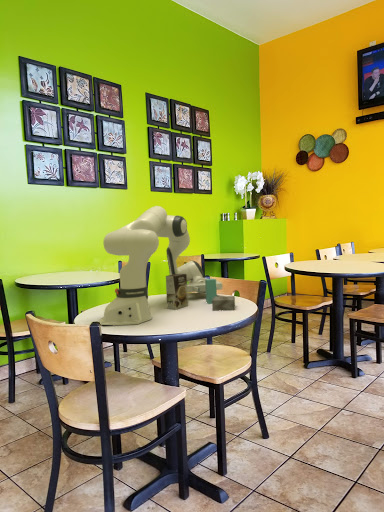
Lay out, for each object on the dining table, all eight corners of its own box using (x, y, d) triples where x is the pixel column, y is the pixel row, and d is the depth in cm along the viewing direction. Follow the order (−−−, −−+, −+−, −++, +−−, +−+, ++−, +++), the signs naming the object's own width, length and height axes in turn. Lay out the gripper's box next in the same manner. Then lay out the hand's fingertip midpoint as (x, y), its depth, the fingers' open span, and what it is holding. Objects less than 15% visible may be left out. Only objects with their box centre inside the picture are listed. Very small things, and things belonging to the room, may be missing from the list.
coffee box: (177, 309, 189) (175, 276, 188) (166, 308, 193) (164, 275, 192) (188, 306, 196) (187, 273, 195) (178, 305, 200) (176, 273, 199)
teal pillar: (208, 304, 198) (207, 280, 198) (206, 302, 203) (205, 279, 202) (217, 303, 199) (216, 279, 198) (214, 301, 204) (213, 278, 203)
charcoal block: (212, 311, 183) (212, 300, 182) (214, 306, 193) (213, 296, 192) (234, 310, 181) (233, 299, 181) (235, 306, 191) (234, 296, 191)
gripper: (182, 281, 218) (187, 284, 205) (218, 278, 223) (225, 281, 209) (182, 292, 219) (188, 296, 205) (218, 289, 223) (225, 293, 210)
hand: (207, 288), depth 207 cm, fingers open, 8 cm apart
